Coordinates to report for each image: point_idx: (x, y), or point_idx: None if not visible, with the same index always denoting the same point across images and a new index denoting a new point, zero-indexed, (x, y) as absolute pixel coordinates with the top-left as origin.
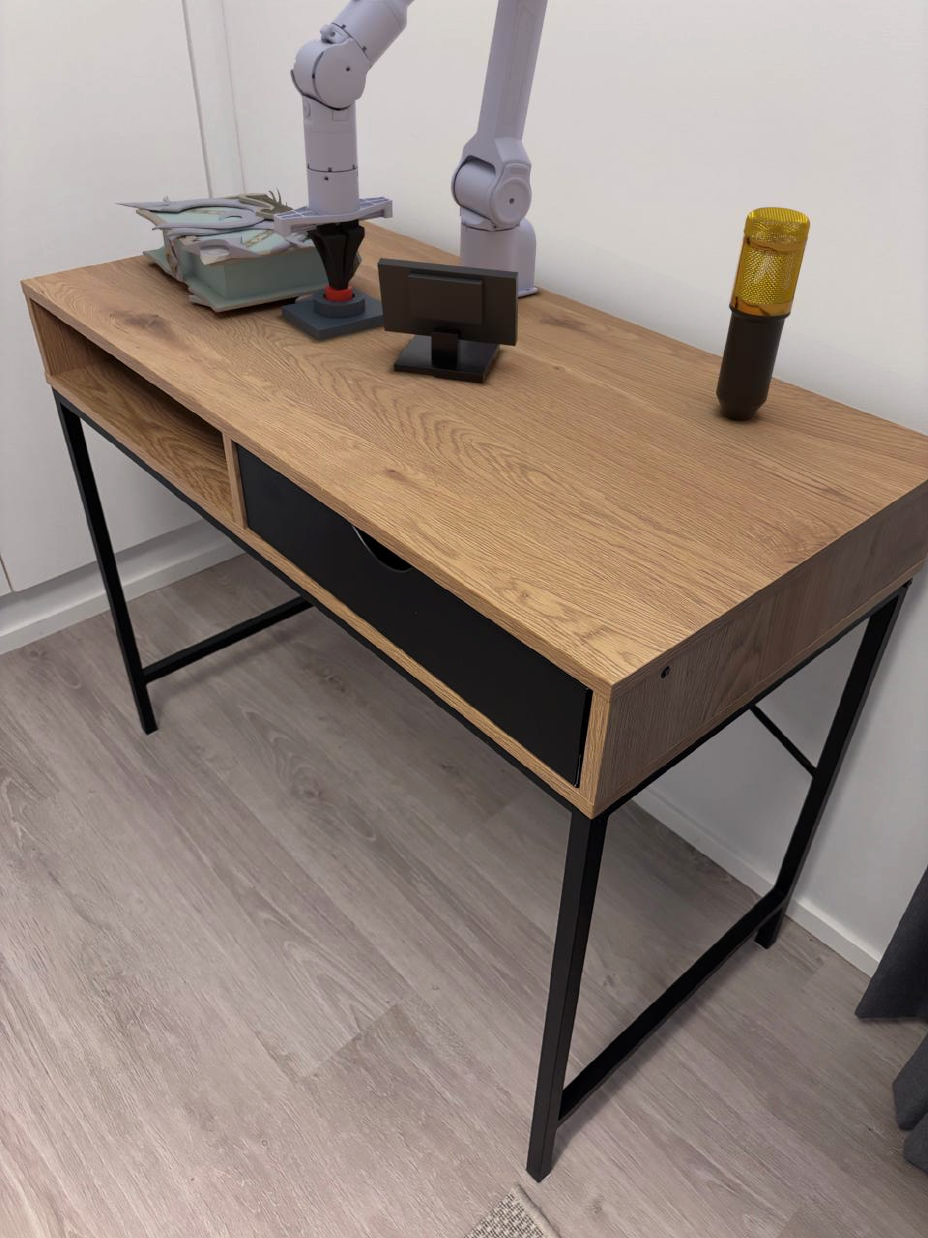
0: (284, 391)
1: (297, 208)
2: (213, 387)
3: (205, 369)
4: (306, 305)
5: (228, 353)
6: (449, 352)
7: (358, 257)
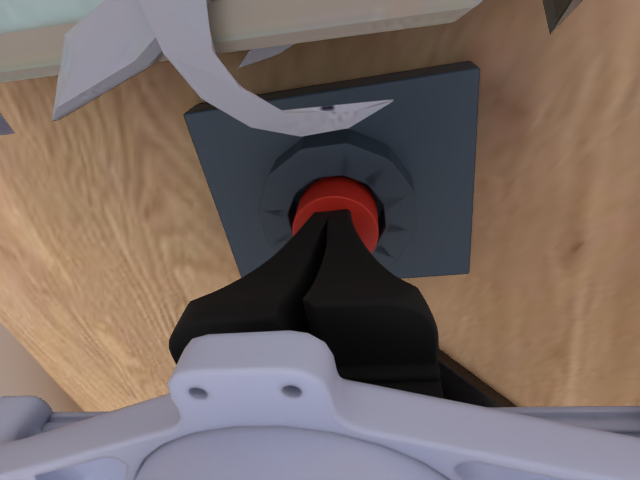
0: (157, 386)
1: (58, 461)
2: (52, 342)
3: (29, 289)
4: (257, 141)
5: (63, 248)
6: None
7: (574, 3)
